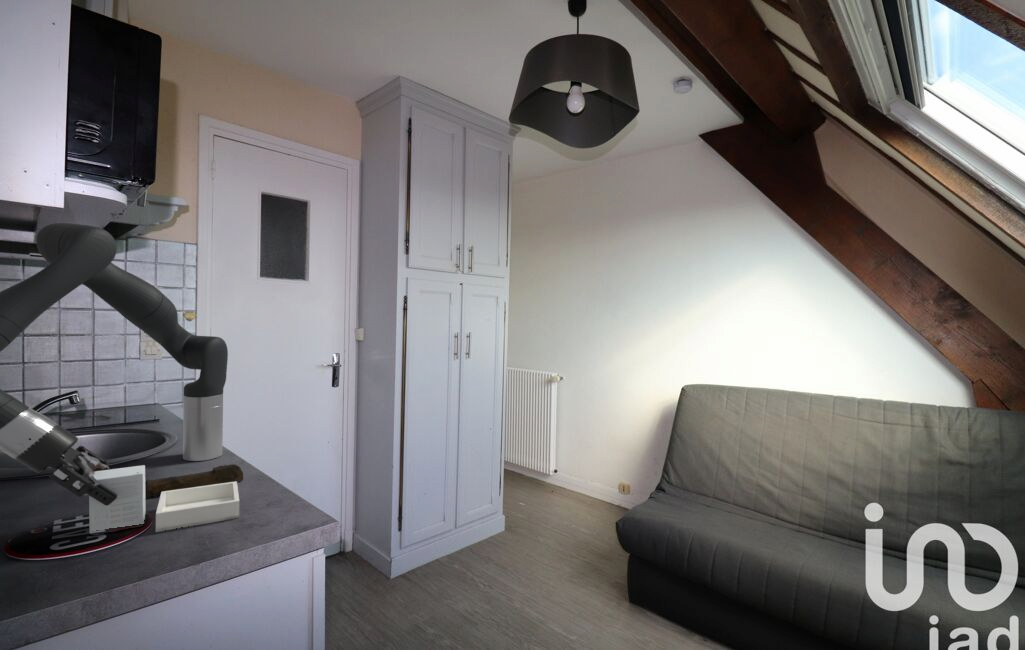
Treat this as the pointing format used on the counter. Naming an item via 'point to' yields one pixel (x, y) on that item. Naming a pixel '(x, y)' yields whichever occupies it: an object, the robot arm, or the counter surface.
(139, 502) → the small box
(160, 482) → the hand tool
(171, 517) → the tray
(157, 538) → the counter surface
